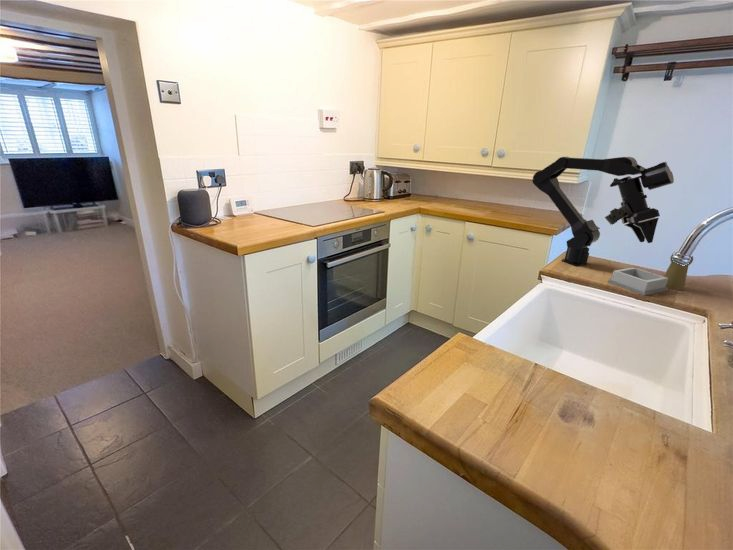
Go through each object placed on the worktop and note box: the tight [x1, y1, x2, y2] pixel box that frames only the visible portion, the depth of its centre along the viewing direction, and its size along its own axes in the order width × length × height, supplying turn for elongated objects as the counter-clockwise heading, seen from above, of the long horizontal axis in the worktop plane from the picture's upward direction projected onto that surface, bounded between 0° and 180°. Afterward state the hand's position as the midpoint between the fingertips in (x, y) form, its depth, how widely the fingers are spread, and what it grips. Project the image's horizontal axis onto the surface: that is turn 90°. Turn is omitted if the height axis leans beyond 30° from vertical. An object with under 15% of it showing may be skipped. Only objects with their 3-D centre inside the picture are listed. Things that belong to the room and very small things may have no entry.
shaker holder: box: [607, 267, 669, 296], centre depth 110 cm, size 11×11×4 cm
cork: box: [663, 252, 694, 291], centre depth 109 cm, size 6×6×11 cm
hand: (646, 242), depth 113 cm, fingers open, 9 cm apart
